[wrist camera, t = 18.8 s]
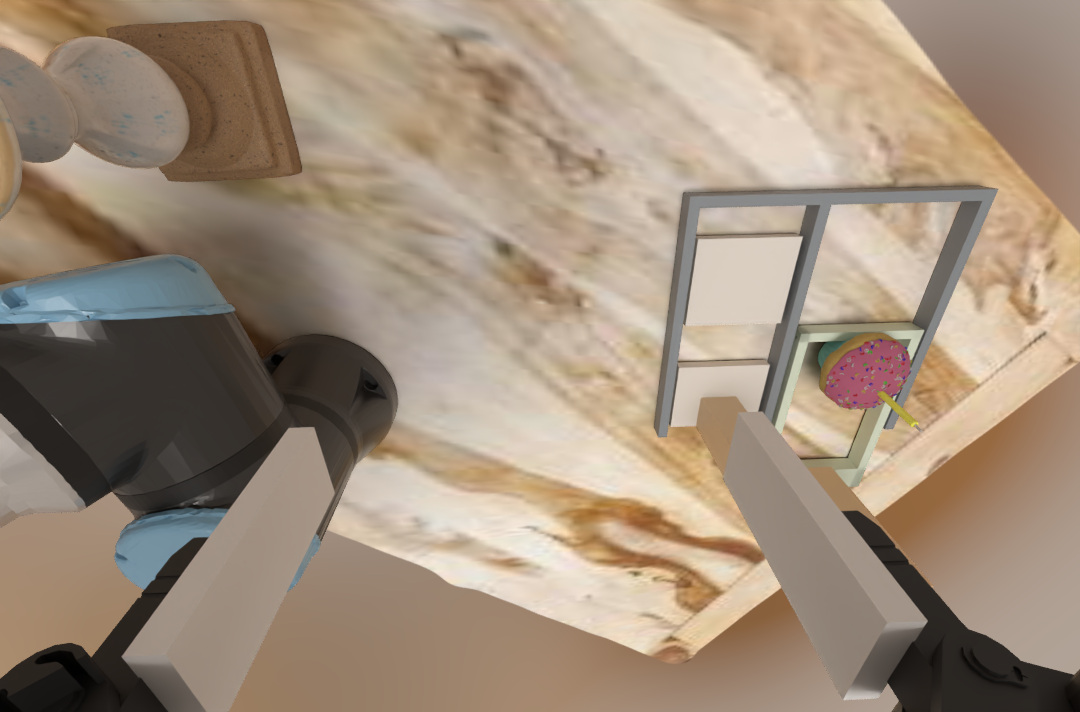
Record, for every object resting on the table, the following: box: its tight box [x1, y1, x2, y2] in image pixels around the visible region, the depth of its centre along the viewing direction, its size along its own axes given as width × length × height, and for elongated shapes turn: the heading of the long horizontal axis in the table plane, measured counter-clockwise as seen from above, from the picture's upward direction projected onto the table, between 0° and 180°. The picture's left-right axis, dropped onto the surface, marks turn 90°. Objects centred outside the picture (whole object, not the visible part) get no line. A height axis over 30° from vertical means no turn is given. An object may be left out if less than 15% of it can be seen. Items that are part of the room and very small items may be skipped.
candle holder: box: [0, 21, 302, 220], centre depth 27 cm, size 11×11×24 cm
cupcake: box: [818, 333, 923, 433], centre depth 46 cm, size 9×8×12 cm
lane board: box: [654, 186, 998, 437], centre depth 48 cm, size 27×28×2 cm
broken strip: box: [669, 234, 803, 476], centre depth 42 cm, size 22×10×17 cm, turn 1°
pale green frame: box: [771, 322, 933, 587], centre depth 47 cm, size 22×13×18 cm, turn 1°
